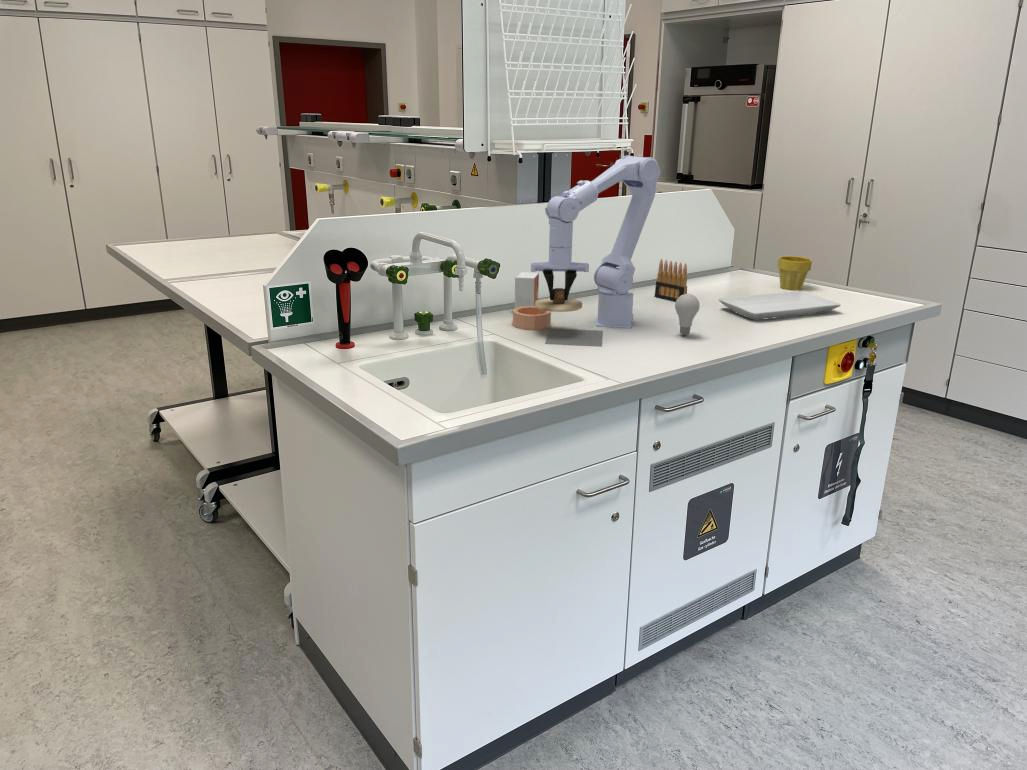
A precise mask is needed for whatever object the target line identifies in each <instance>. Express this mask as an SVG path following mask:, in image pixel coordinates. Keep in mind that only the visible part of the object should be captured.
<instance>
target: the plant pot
mask: <svg viewBox="0 0 1027 770" xmlns="http://www.w3.org/2000/svg"><path fill="white" fill-rule="evenodd" d="M777 261H778V262H777V268H778V270H779V272H778V273H779V286H780V288H781V289H783V290H788V291H799V290H801V289H802V288H803V285H804V283H805V281H806V278H807V275H808V273H809V272H810V271H811V270H812V269H811V268H812V263H813V259H811V258H809V257H808V258H807V257H805V256H797V255H781V256H779V257H778V260H777Z"/></svg>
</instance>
